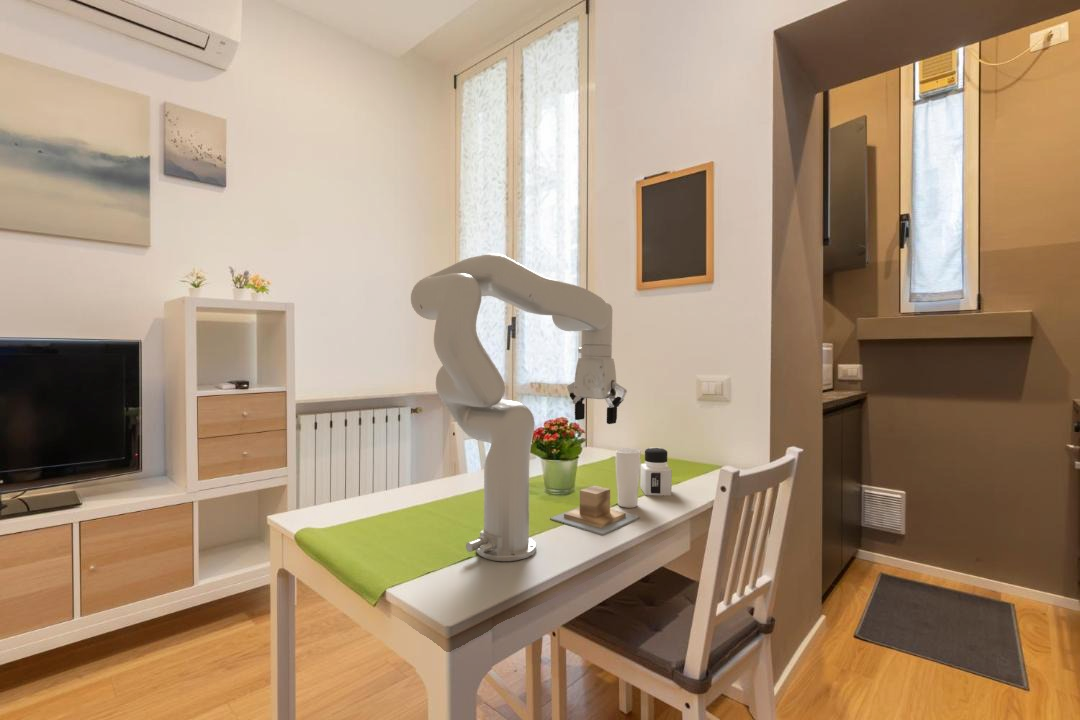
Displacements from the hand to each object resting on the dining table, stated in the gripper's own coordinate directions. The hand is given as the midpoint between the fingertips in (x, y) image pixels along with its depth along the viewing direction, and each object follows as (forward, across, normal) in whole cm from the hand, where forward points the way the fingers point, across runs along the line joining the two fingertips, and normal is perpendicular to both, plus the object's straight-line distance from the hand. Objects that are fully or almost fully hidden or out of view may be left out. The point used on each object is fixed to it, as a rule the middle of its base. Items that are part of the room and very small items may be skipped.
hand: (595, 421), depth 129 cm
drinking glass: (+24, 0, +16) cm, 29 cm away
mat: (+24, 0, +1) cm, 25 cm away
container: (+24, -1, +33) cm, 41 cm away
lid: (+24, 0, 0) cm, 24 cm away
